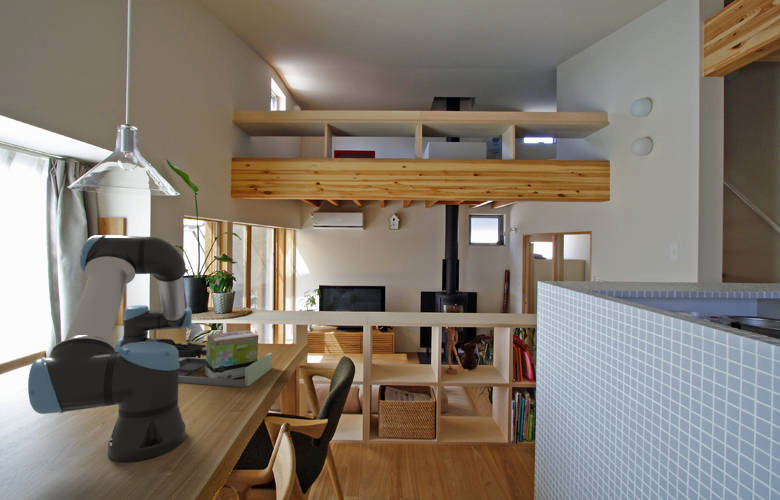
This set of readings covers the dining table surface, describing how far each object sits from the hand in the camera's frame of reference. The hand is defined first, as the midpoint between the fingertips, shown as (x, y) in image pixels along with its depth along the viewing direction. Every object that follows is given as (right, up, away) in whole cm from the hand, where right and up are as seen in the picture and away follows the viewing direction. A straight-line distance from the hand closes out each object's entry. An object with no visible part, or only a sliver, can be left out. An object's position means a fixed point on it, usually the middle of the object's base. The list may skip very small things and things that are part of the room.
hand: (219, 352), depth 131 cm
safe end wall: (+16, -8, -3) cm, 18 cm away
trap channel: (-2, -7, -1) cm, 8 cm away
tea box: (+5, -8, -2) cm, 10 cm away
